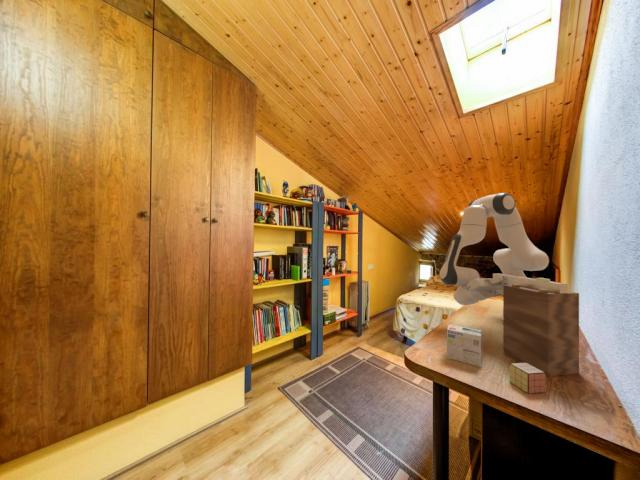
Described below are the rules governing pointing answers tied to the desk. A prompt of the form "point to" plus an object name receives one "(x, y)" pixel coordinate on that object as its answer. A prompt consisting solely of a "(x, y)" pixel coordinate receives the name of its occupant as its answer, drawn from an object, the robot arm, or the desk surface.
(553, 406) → the desk surface
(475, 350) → the light bulb box
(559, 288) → the sighting bar
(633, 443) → the desk surface
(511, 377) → the puzzle toy
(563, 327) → the plinth
